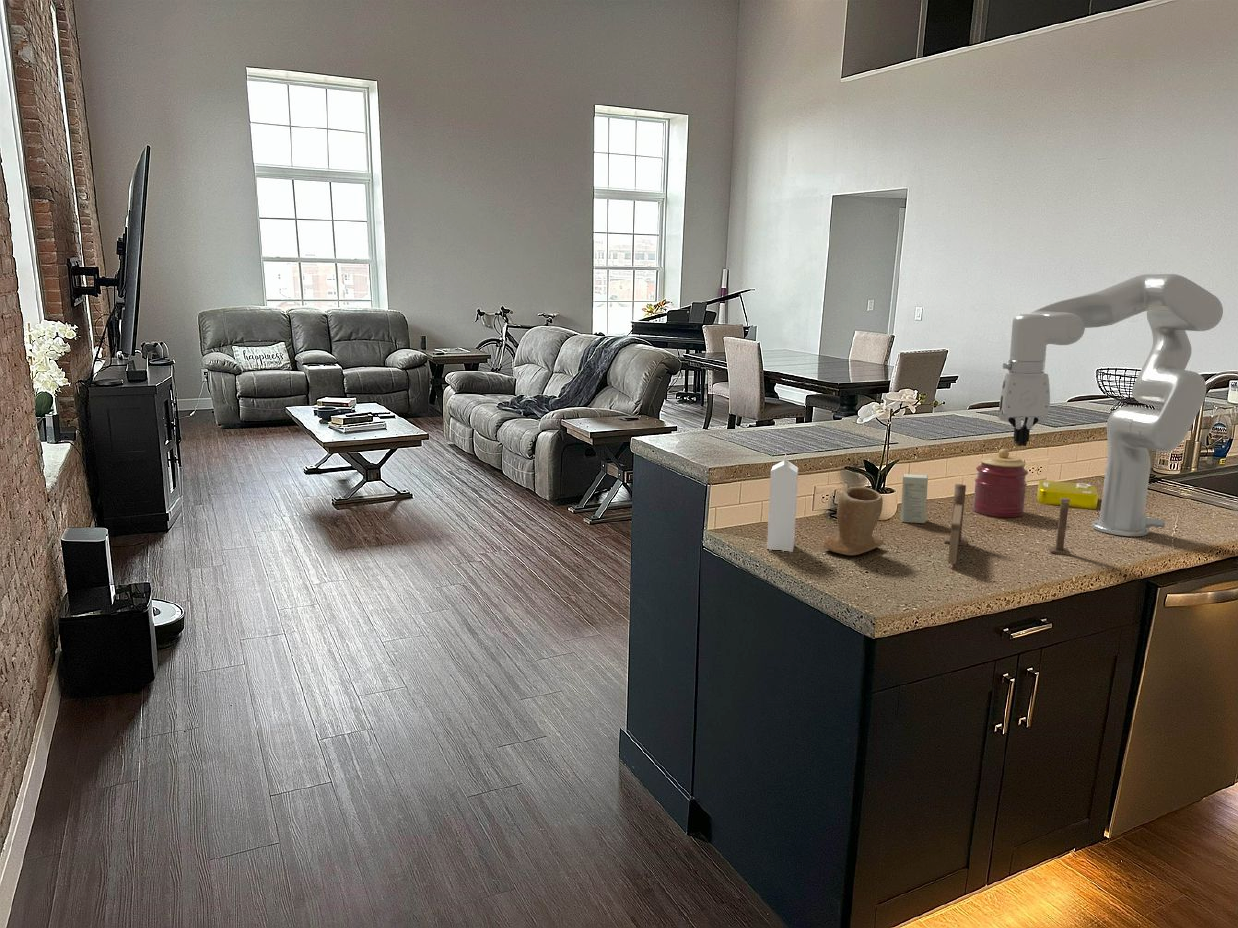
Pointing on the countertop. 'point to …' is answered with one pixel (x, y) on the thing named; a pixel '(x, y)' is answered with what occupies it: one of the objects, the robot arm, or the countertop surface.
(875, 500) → the stone cup
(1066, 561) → the countertop surface
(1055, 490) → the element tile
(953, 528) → the panel
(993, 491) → the canister
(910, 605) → the countertop surface
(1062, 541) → the gate frame
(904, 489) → the skincare box
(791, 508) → the milk
